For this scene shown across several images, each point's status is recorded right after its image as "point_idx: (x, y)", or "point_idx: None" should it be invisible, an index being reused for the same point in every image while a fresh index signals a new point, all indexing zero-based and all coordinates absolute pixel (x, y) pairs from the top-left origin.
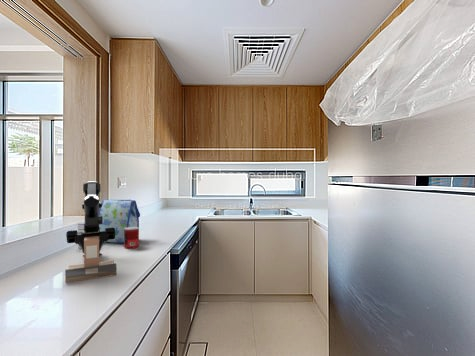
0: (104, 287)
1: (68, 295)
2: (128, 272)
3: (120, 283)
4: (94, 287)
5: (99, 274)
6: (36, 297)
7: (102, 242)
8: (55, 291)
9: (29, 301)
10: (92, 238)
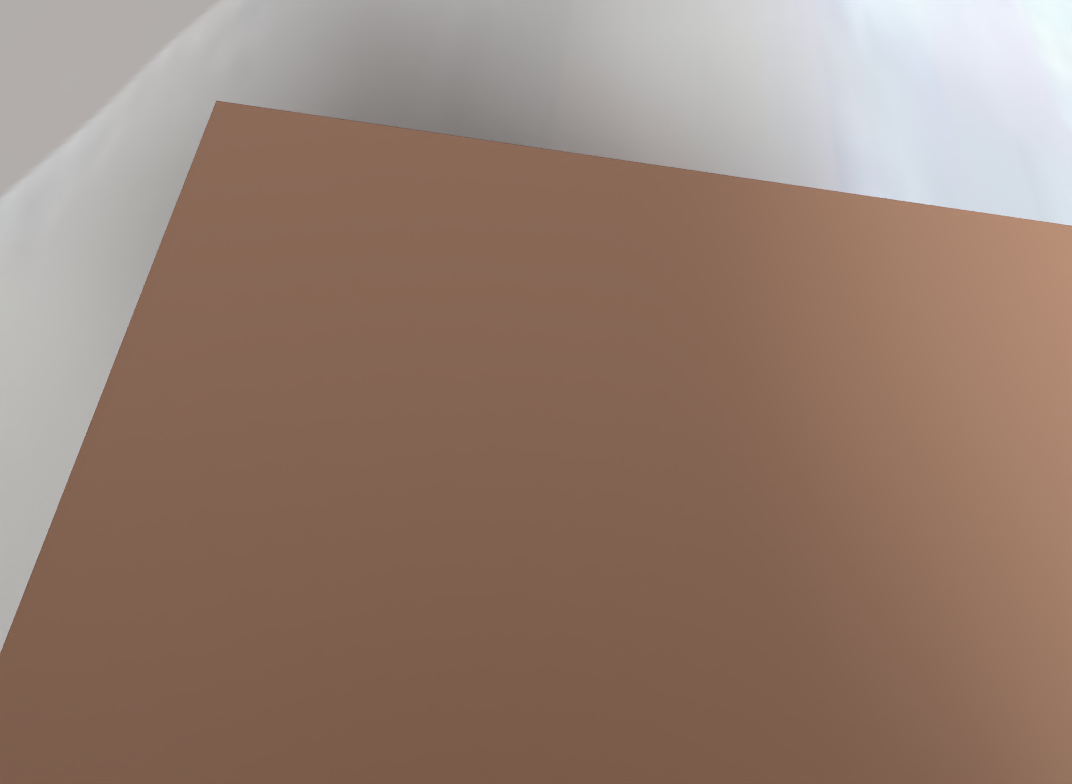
0: (498, 20)
1: (786, 17)
2: (123, 311)
3: (345, 32)
4: (578, 67)
5: None
6: (1032, 112)
7: None
8: (906, 161)
9: (1060, 62)
10: (646, 626)
